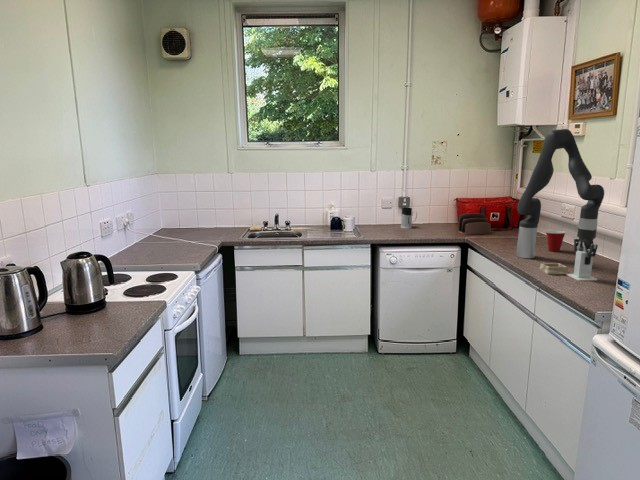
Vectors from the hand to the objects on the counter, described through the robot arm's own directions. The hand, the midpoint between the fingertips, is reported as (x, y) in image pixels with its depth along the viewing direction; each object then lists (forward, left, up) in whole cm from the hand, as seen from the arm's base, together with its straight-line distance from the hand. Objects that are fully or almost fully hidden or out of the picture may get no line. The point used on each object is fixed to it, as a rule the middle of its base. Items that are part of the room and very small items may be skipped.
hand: (583, 262), depth 208 cm
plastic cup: (-54, +18, -7) cm, 57 cm away
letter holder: (-112, -8, -8) cm, 112 cm away
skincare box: (0, 0, -7) cm, 7 cm away
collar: (-10, -8, -7) cm, 15 cm away
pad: (0, 0, -7) cm, 7 cm away
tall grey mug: (-136, -49, -7) cm, 145 cm away
